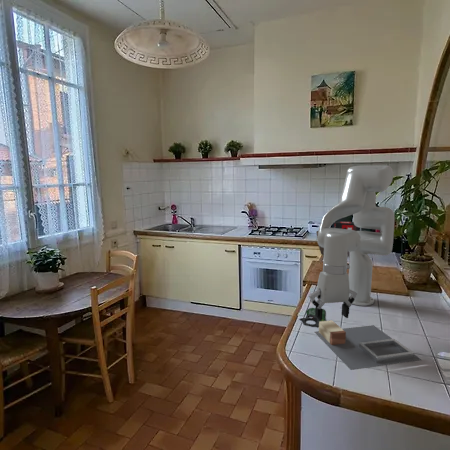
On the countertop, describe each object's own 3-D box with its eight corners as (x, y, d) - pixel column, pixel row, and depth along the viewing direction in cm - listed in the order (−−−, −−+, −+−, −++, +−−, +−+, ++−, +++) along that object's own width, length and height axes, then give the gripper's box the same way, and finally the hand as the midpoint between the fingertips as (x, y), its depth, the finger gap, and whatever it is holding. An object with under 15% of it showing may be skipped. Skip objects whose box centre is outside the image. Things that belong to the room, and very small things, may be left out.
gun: (301, 306, 136) (326, 309, 133) (301, 309, 136) (325, 312, 133) (298, 323, 121) (326, 326, 118) (298, 327, 121) (326, 330, 118)
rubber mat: (314, 332, 116) (314, 331, 116) (373, 326, 120) (373, 325, 120) (350, 371, 93) (350, 369, 93) (421, 361, 98) (422, 359, 98)
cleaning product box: (356, 248, 242) (358, 222, 239) (357, 250, 234) (359, 223, 231) (333, 246, 247) (335, 221, 244) (334, 249, 239) (335, 223, 235)
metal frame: (358, 347, 105) (358, 342, 105) (393, 342, 108) (393, 338, 107) (376, 362, 97) (376, 358, 96) (413, 357, 99) (414, 353, 99)
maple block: (318, 332, 115) (319, 321, 115) (331, 330, 116) (331, 320, 116) (331, 345, 107) (332, 333, 106) (345, 343, 108) (345, 332, 107)
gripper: (351, 264, 113) (348, 311, 115) (305, 267, 109) (303, 314, 112) (364, 270, 105) (361, 320, 108) (316, 273, 102) (313, 324, 104)
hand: (331, 317), depth 110 cm, fingers open, 9 cm apart
